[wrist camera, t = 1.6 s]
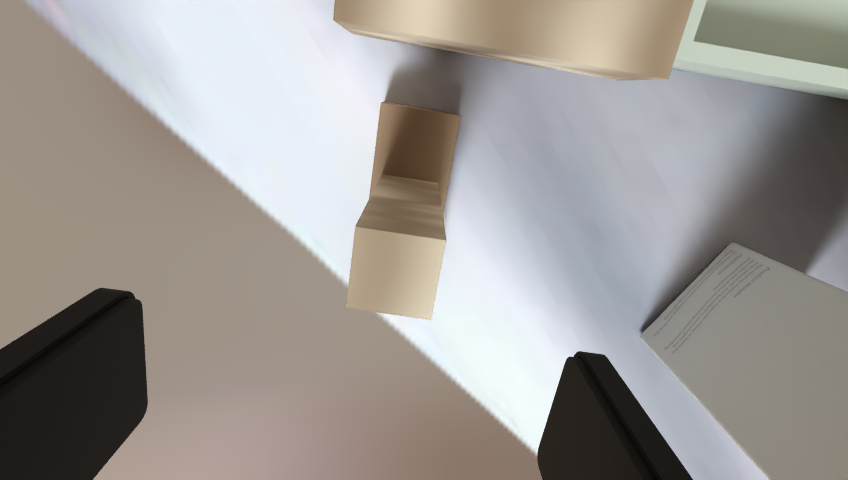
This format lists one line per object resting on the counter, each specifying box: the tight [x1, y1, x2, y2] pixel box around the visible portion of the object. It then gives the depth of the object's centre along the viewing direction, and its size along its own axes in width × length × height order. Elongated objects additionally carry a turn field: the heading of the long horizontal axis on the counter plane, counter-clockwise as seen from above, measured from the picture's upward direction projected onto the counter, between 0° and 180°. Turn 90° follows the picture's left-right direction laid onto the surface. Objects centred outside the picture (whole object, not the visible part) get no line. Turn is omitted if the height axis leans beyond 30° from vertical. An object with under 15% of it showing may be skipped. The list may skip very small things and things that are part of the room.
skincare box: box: [640, 242, 848, 480], centre depth 20 cm, size 8×6×15 cm
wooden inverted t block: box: [346, 102, 461, 320], centre depth 20 cm, size 4×10×11 cm, turn 171°
